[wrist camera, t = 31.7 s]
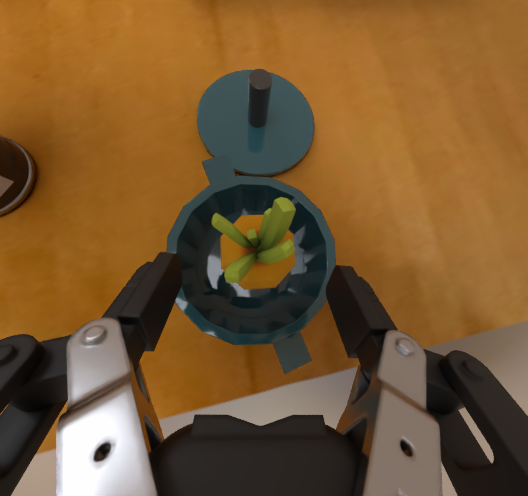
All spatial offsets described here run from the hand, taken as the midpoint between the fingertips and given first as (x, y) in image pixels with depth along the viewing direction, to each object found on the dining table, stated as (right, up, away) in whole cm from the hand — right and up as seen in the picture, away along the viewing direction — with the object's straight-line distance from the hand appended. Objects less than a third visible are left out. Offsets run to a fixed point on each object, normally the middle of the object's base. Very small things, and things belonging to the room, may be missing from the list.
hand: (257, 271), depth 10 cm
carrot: (-1, -1, +12) cm, 12 cm away
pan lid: (-1, +17, +15) cm, 23 cm away
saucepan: (-1, 0, +12) cm, 12 cm away
